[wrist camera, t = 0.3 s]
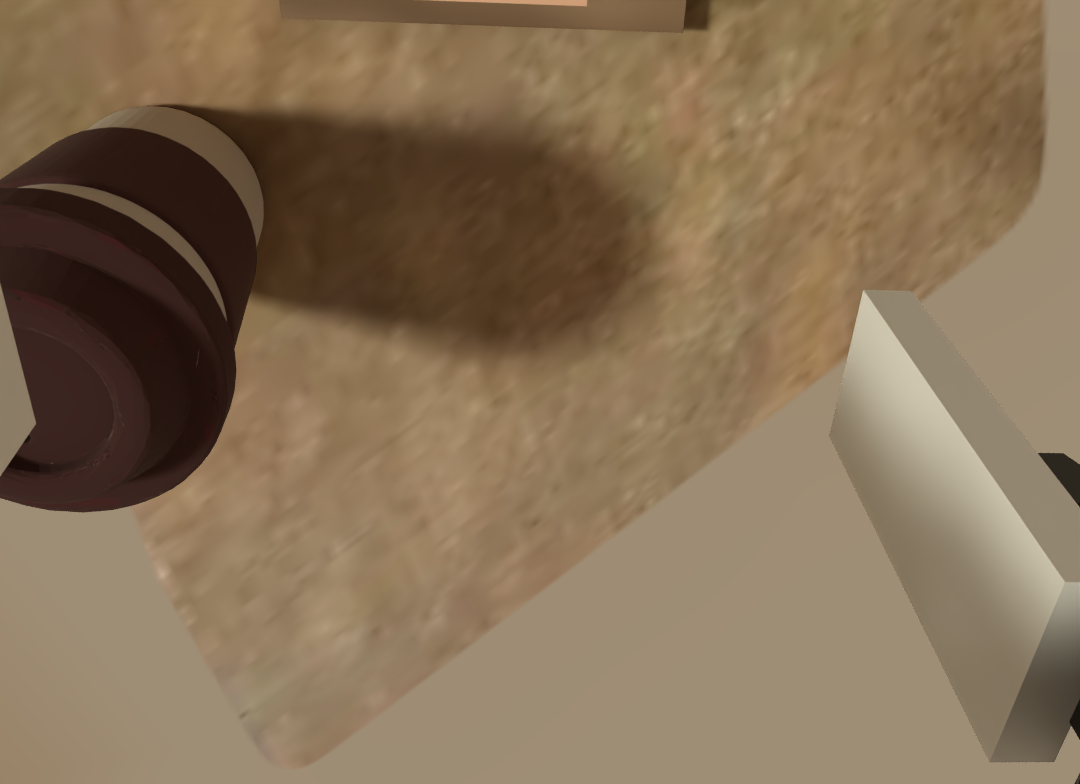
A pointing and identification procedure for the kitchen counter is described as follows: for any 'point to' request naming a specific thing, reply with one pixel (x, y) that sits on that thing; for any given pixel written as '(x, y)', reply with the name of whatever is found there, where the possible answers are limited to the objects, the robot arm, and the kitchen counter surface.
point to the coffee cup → (126, 304)
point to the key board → (500, 13)
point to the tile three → (531, 2)
